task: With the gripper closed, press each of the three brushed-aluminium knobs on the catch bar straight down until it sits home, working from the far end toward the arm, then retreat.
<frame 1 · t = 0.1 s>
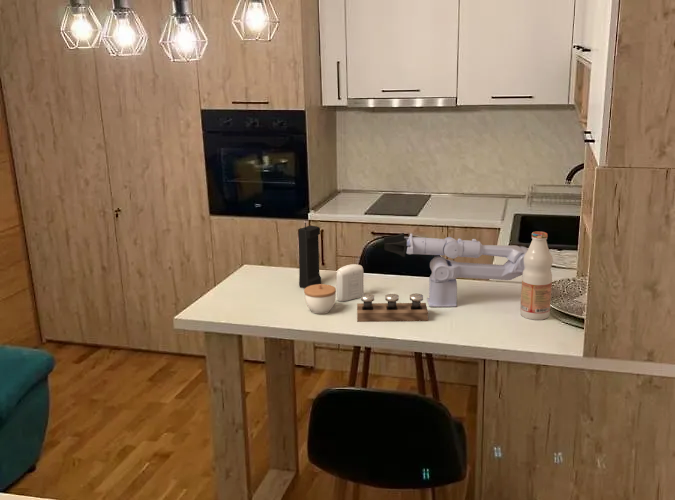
hand: (384, 243, 246), 22 cm above the breakfast bar, tool horizontal, fingers open, 7 cm apart
catch bar: (391, 316, 240), on the breakfast bar
photo printer: (350, 298, 258), on the breakfast bar
knob near: (416, 302, 239), point 5 cm above the breakfast bar, slide at 0.0 cm
knob middle: (391, 302, 239), point 5 cm above the breakfast bar, slide at 0.0 cm
fruit juice: (534, 315, 239), on the breakfast bar
lidded jar: (320, 311, 247), on the breakfast bar
knob far: (367, 302, 239), point 5 cm above the breakfast bar, slide at 0.0 cm
portable radio: (310, 286, 272), on the breakfast bar
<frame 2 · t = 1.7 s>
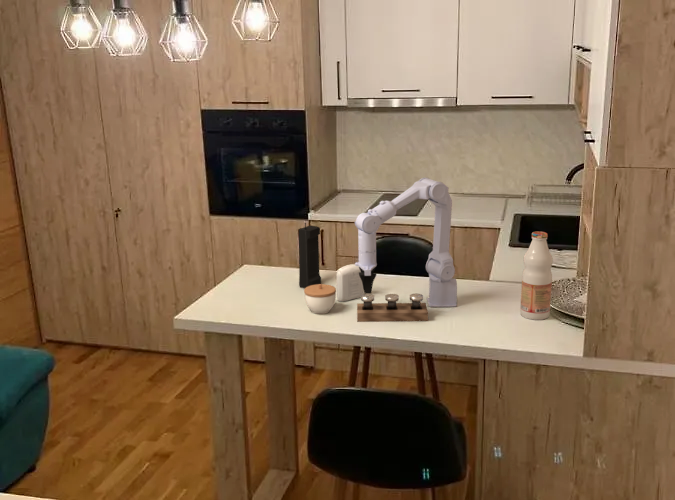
hand: (367, 289, 238), 9 cm above the breakfast bar, tool pointing down, fingers open, 6 cm apart
nothing on the breakfast bar moved.
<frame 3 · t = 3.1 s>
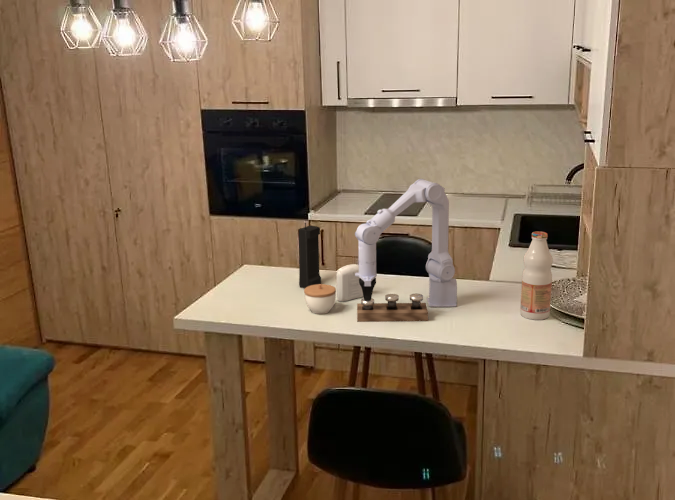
hand: (367, 300, 239), 6 cm above the breakfast bar, tool pointing down, fingers closed, pressing on knob far
knob far: (367, 306, 240), point 4 cm above the breakfast bar, slide at 1.3 cm, touching gripper
everything else where it was.
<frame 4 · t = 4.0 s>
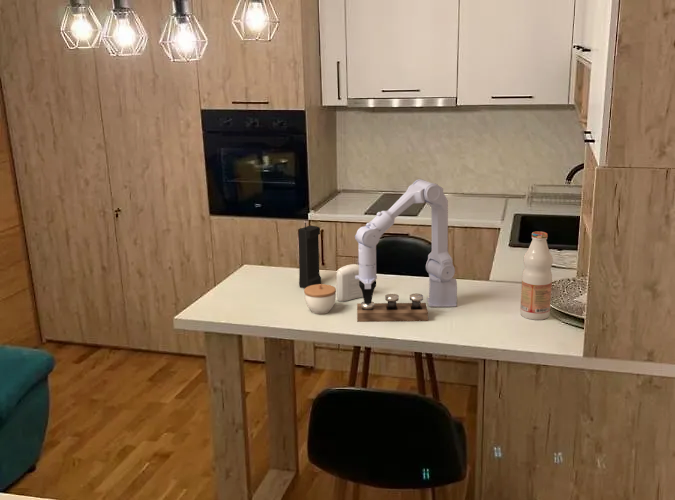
hand: (367, 302, 239), 5 cm above the breakfast bar, tool pointing down, fingers closed
knob far: (367, 309, 240), point 2 cm above the breakfast bar, slide at 2.5 cm
everything else where it was.
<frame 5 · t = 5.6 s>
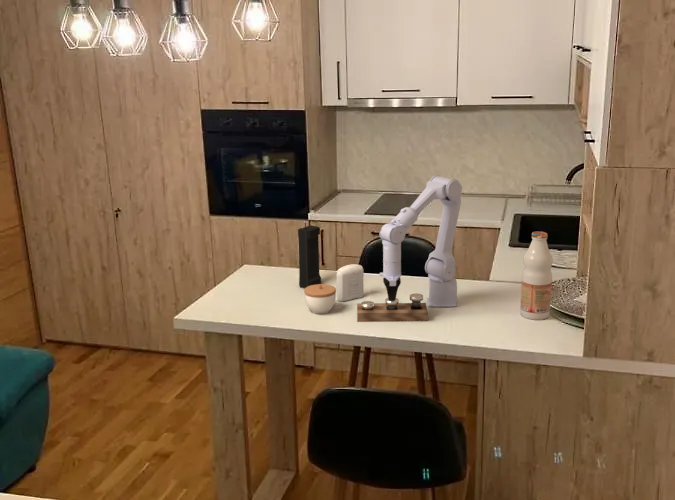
hand: (391, 299, 239), 6 cm above the breakfast bar, tool pointing down, fingers closed, pressing on knob middle
knob middle: (391, 306, 239), point 4 cm above the breakfast bar, slide at 1.3 cm, touching gripper
everything else where it was.
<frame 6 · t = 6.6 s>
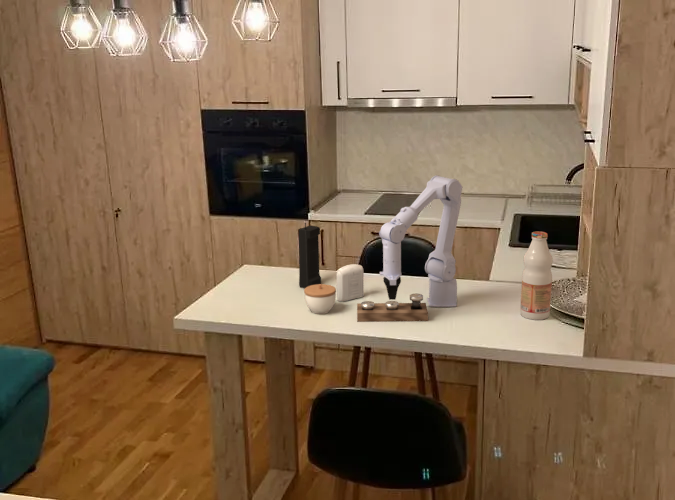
hand: (392, 298, 239), 6 cm above the breakfast bar, tool pointing down, fingers closed
knob middle: (391, 309, 240), point 2 cm above the breakfast bar, slide at 2.5 cm
everything else where it was.
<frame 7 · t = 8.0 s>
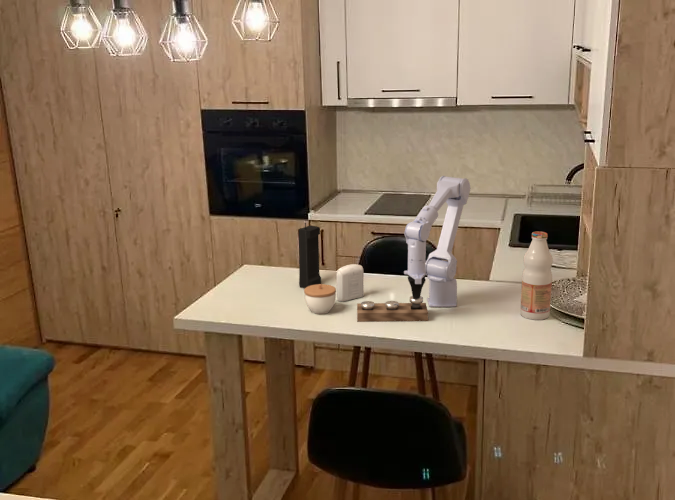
hand: (416, 298, 238), 6 cm above the breakfast bar, tool pointing down, fingers closed, pressing on knob near
knob near: (416, 304, 239), point 4 cm above the breakfast bar, slide at 0.8 cm, touching gripper
everything else where it was.
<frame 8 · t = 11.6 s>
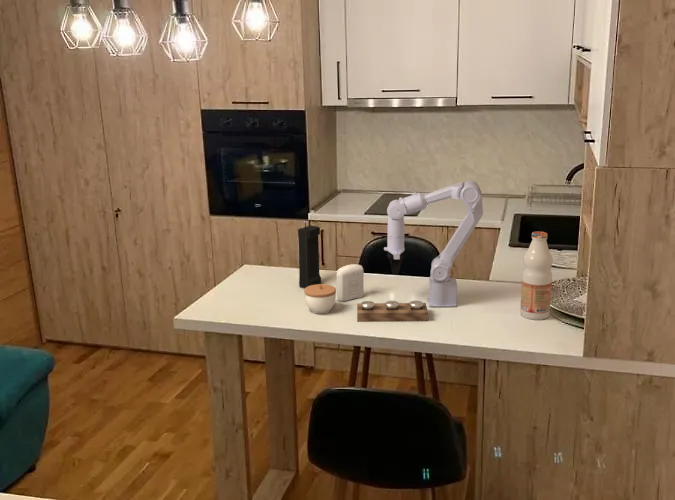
hand: (395, 273, 251), 10 cm above the breakfast bar, tool pointing down, fingers closed
knob near: (416, 309, 239), point 2 cm above the breakfast bar, slide at 2.5 cm
everything else where it was.
at the end: knob far slide at 2.5 cm; knob middle slide at 2.5 cm; knob near slide at 2.5 cm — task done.
